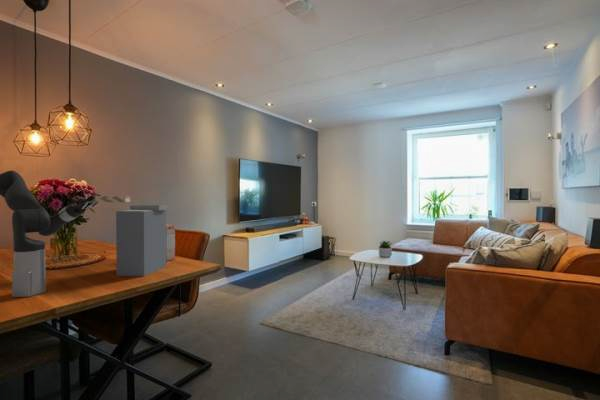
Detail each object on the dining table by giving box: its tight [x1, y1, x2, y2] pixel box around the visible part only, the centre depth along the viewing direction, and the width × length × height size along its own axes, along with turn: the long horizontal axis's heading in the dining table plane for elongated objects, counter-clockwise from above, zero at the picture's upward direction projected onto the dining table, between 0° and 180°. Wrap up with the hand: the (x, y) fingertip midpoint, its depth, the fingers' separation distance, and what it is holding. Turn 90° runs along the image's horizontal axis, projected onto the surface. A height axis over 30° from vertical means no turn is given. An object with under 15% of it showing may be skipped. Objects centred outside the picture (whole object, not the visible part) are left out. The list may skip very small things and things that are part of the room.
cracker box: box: [166, 223, 176, 262], centre depth 181 cm, size 14×6×21 cm, turn 58°
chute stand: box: [115, 204, 169, 277], centre depth 153 cm, size 16×20×33 cm
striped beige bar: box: [85, 195, 131, 203], centre depth 159 cm, size 22×4×3 cm, turn 85°
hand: (97, 196), depth 160 cm, fingers closed on striped beige bar, 4 cm apart
